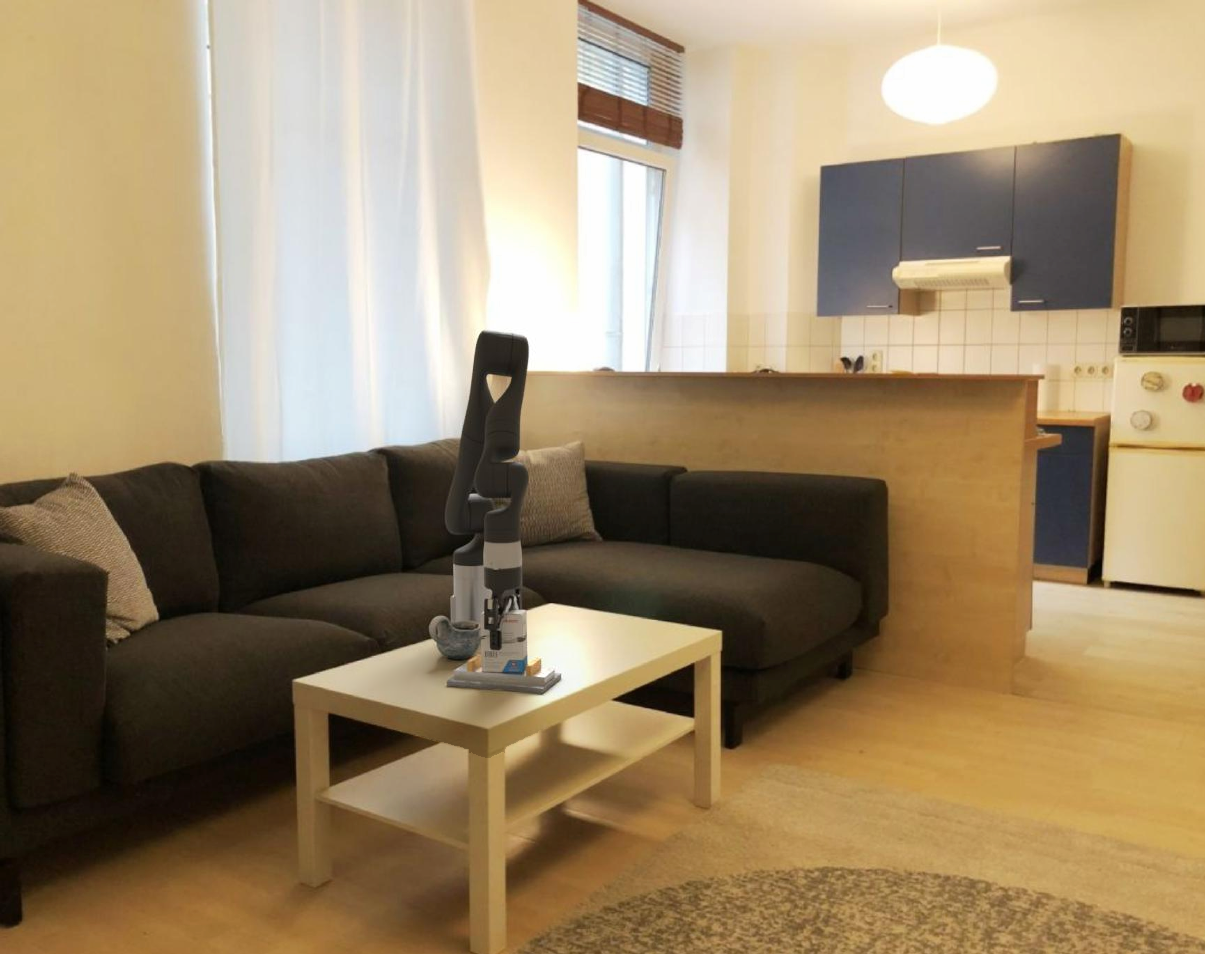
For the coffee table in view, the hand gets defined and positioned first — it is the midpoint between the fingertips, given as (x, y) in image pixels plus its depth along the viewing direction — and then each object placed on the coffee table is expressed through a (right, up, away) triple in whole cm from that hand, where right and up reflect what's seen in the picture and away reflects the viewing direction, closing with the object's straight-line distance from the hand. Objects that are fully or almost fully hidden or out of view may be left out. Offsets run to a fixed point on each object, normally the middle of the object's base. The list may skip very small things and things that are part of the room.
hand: (504, 644), depth 220 cm
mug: (-12, -6, +19) cm, 23 cm away
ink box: (0, -5, +1) cm, 5 cm away
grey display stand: (0, -8, +1) cm, 8 cm away
